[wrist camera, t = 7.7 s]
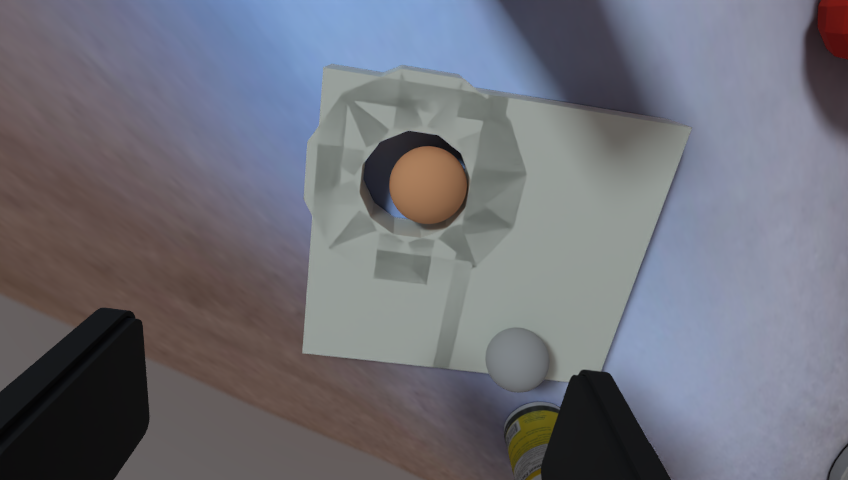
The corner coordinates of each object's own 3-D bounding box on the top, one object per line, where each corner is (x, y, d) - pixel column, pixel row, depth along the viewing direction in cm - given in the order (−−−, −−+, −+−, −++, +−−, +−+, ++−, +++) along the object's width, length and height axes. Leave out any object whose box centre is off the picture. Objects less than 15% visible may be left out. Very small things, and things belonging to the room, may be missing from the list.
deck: (670, 109, 26) (695, 117, 24) (582, 359, 32) (595, 385, 30) (322, 51, 24) (313, 54, 22) (302, 327, 31) (293, 351, 28)
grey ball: (547, 319, 28) (565, 356, 25) (532, 367, 29) (547, 409, 26) (488, 312, 28) (498, 349, 25) (475, 361, 29) (484, 402, 26)
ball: (393, 133, 26) (466, 144, 26) (384, 203, 27) (452, 212, 28) (396, 151, 22) (480, 163, 23) (385, 231, 24) (464, 240, 24)
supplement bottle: (577, 436, 35) (625, 551, 28) (516, 458, 36) (546, 576, 28) (556, 389, 33) (601, 498, 26) (492, 413, 34) (517, 526, 26)
